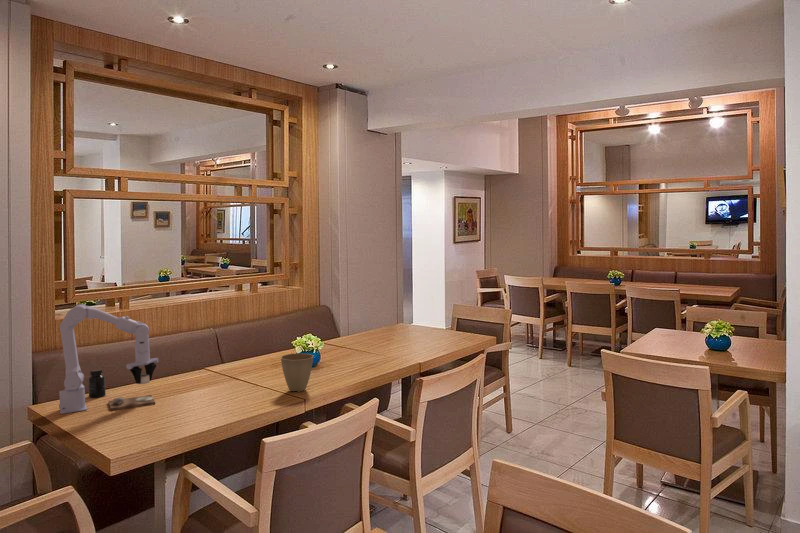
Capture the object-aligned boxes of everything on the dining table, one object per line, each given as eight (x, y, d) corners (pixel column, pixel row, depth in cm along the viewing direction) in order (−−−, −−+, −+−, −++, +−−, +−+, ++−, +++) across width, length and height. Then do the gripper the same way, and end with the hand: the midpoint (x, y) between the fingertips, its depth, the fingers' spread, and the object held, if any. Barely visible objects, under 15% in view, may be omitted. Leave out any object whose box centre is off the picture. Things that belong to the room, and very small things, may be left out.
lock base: (111, 410, 231) (110, 403, 231) (108, 403, 242) (108, 396, 242) (155, 404, 240) (154, 397, 240) (150, 396, 251) (150, 390, 251)
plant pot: (292, 396, 249) (291, 361, 248) (275, 390, 260) (274, 356, 259) (320, 390, 258) (319, 356, 258) (303, 384, 270) (302, 351, 269)
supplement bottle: (108, 395, 254) (107, 370, 253) (91, 399, 249) (90, 372, 248) (102, 393, 259) (101, 367, 258) (86, 396, 254) (85, 370, 253)
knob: (135, 383, 242) (134, 375, 242) (144, 380, 247) (144, 372, 247) (142, 384, 240) (142, 376, 240) (152, 381, 245) (151, 373, 245)
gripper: (133, 355, 235) (134, 387, 235) (162, 349, 247) (163, 379, 248) (122, 353, 238) (124, 385, 239) (152, 347, 251) (153, 377, 251)
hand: (143, 382), depth 244 cm, fingers closed on knob, 5 cm apart
